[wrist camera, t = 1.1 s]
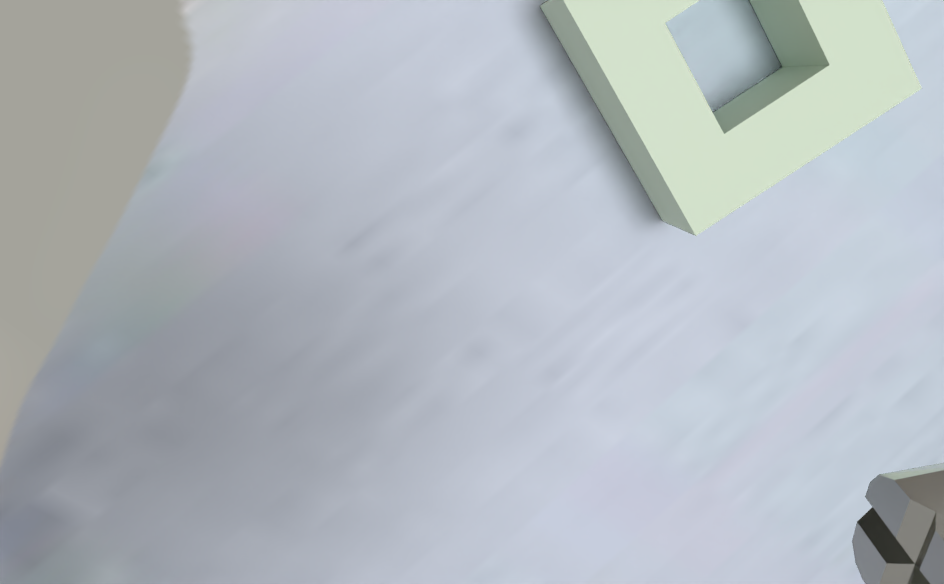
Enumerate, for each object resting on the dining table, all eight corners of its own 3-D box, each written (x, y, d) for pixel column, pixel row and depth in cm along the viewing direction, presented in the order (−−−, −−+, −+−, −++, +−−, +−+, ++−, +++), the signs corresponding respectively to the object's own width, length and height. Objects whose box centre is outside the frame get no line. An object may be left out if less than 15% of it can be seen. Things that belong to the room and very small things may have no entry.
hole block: (866, 88, 49) (921, 88, 44) (662, 221, 49) (695, 235, 45) (759, -140, 45) (807, -166, 41) (539, 5, 46) (561, -4, 41)
